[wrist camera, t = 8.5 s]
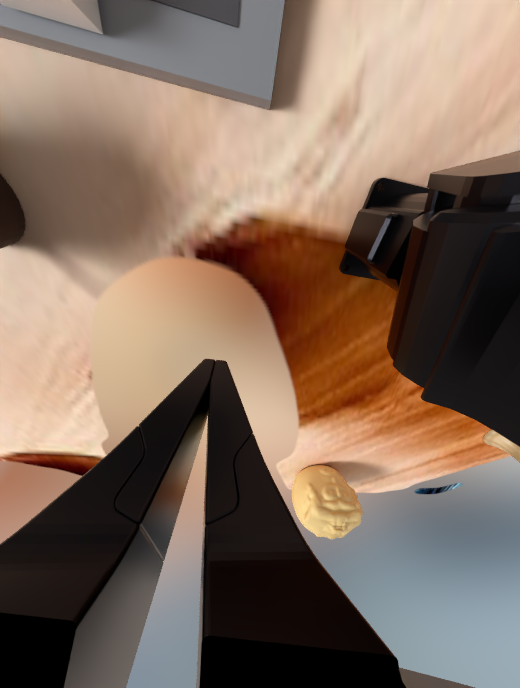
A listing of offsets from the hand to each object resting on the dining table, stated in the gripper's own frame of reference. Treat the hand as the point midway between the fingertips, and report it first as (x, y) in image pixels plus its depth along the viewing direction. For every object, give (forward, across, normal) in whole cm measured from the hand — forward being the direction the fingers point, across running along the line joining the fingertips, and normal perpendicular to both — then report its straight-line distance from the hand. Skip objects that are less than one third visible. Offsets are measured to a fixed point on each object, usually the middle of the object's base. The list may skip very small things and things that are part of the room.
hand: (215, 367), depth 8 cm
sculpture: (+12, -22, +40) cm, 47 cm away
